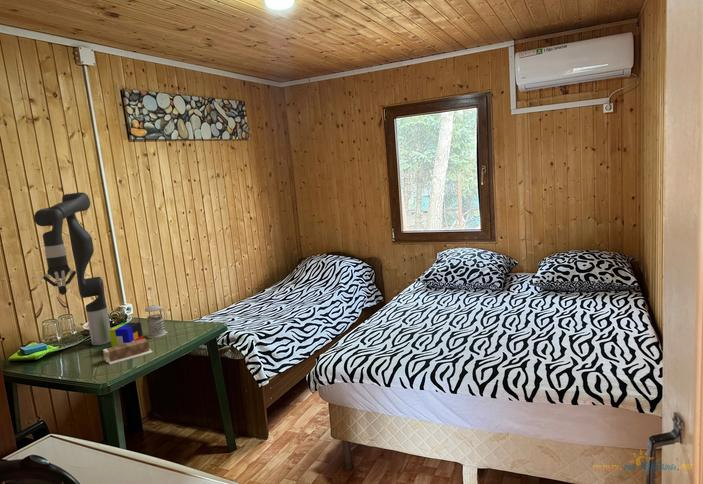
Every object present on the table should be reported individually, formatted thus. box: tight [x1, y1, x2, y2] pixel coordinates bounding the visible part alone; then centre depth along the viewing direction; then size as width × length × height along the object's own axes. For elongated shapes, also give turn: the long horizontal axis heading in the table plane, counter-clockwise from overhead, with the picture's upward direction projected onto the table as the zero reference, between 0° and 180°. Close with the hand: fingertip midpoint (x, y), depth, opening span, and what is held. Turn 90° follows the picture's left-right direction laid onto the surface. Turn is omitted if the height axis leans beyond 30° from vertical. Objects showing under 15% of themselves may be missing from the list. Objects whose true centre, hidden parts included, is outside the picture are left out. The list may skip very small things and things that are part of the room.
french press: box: [144, 286, 168, 339], centre depth 245 cm, size 10×12×25 cm
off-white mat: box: [107, 347, 153, 366], centre depth 219 cm, size 18×12×1 cm, turn 126°
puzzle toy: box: [109, 321, 144, 347], centre depth 232 cm, size 10×10×10 cm
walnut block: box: [102, 338, 151, 363], centre depth 218 cm, size 4×6×18 cm
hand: (63, 294), depth 209 cm, fingers closed
